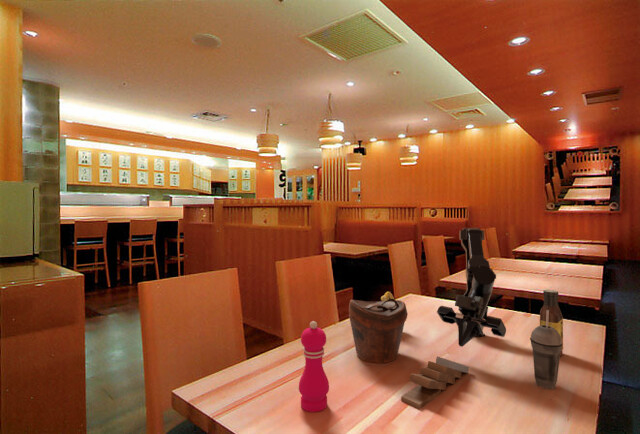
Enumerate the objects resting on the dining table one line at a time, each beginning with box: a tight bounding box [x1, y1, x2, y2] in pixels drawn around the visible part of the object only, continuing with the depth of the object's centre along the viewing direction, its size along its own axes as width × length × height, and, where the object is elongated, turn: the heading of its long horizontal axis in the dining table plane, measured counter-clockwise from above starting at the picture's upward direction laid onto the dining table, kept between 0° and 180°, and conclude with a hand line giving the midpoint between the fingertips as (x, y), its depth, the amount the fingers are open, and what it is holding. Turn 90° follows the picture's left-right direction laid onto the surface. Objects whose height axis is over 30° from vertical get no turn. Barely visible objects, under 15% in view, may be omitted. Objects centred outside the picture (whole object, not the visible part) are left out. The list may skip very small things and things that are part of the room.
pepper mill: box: [298, 320, 330, 413], centre depth 85 cm, size 7×7×20 cm
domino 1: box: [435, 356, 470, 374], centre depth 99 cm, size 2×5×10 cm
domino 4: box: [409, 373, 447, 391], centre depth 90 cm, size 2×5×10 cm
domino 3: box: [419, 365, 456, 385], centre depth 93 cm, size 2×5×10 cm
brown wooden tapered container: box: [348, 298, 408, 364], centre depth 113 cm, size 18×20×18 cm
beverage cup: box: [529, 310, 564, 390], centre depth 93 cm, size 7×7×20 cm
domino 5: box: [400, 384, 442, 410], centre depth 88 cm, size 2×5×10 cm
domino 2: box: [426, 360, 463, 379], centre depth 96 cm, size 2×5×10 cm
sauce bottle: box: [539, 289, 564, 357], centre depth 113 cm, size 7×6×20 cm
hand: (460, 345), depth 102 cm, fingers closed
